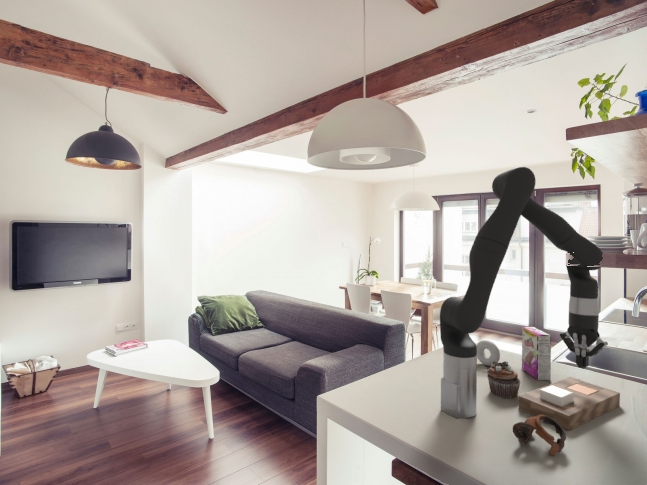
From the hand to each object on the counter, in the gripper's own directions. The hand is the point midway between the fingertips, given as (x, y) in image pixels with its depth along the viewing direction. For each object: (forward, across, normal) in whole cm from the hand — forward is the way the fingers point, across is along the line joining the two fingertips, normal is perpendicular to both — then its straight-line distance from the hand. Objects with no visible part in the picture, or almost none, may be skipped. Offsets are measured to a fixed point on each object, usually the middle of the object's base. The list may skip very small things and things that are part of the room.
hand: (582, 367), depth 115 cm
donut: (+11, -35, +2) cm, 37 cm away
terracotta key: (+10, 0, 0) cm, 10 cm away
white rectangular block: (+7, 0, -14) cm, 16 cm away
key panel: (+11, 0, -7) cm, 13 cm away
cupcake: (+11, -16, -15) cm, 24 cm away
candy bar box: (+11, -20, +9) cm, 25 cm away
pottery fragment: (+11, +7, -35) cm, 37 cm away
